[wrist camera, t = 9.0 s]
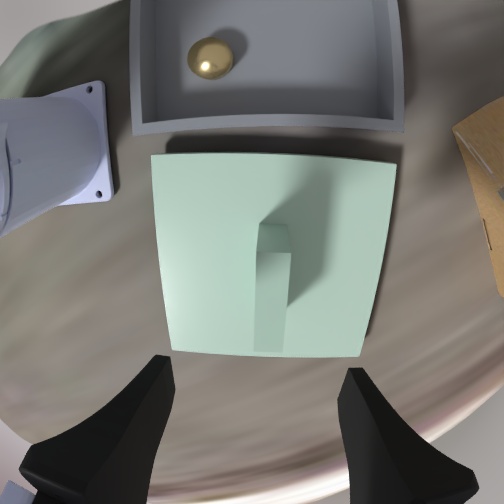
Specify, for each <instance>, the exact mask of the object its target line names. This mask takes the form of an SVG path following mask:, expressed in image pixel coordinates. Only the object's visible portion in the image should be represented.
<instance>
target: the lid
mask: <svg viewBox="0 0 504 504" xmlns="http://www.w3.org/2000/svg"><path fill="white" fill-rule="evenodd" d="M151 165H152V183H153V199H154V212H155V224H156V235H157V245H158V254H159V263H160V271H161V280H162V287H163V295H164V302H165V309H166V315H167V322H168V328H169V334H170V340H171V346H172V350H178V351H189V352H200V353H212V354H226V355H243V356H266V357H359V355H360V352H361V348H362V345H363V341H364V338H365V334H366V330H367V326H368V322H369V319H370V315H371V310H372V306H373V302H374V298H375V293H376V289H377V285H378V280H379V275H380V270H381V265H382V260H383V255H384V250H385V244H386V239H387V233H388V227H389V220H390V214H391V207H392V200H393V192H394V184H395V176H396V166H397V164H394V163H392V162H384V161H376V160H367V159H357V158H347V157H335V156H322V155H307V154H289V153H263V152H182V153H156V154H153V155H151Z"/></svg>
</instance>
